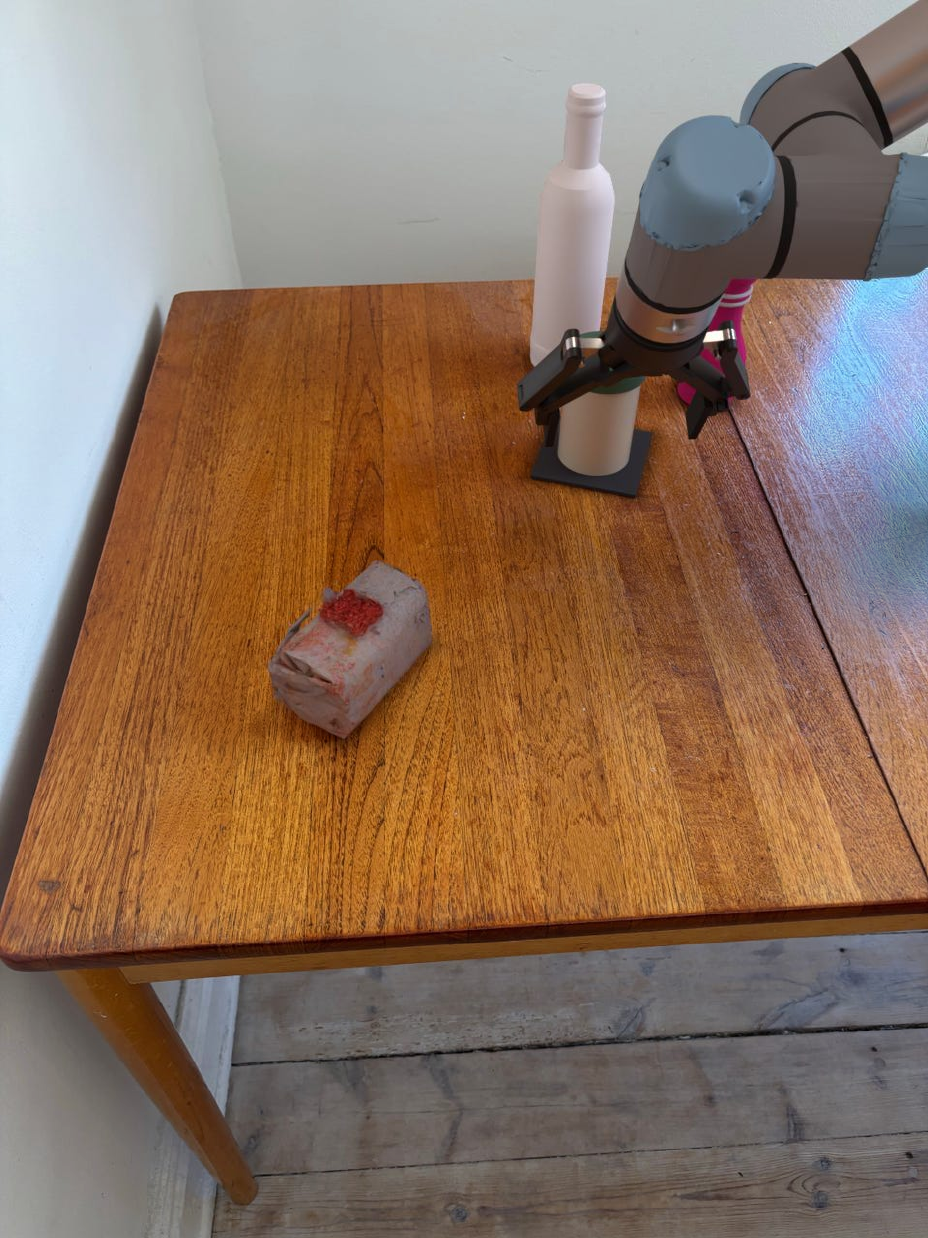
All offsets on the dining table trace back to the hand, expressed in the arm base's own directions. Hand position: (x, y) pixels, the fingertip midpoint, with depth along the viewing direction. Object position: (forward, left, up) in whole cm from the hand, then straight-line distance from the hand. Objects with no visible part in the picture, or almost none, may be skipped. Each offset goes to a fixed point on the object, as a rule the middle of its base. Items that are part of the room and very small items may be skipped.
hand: (619, 430), depth 96 cm
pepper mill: (-7, -22, -9) cm, 24 cm away
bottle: (+10, -24, -9) cm, 27 cm away
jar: (+3, -6, -8) cm, 11 cm away
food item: (+16, +29, -9) cm, 35 cm away
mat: (+3, -7, -9) cm, 11 cm away
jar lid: (+3, -6, +3) cm, 8 cm away
